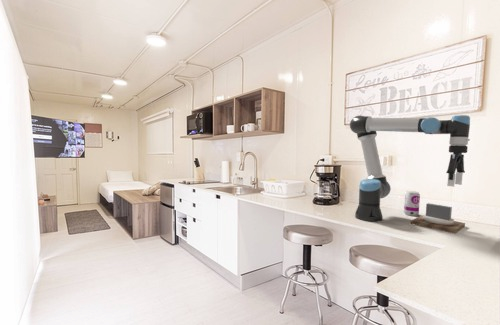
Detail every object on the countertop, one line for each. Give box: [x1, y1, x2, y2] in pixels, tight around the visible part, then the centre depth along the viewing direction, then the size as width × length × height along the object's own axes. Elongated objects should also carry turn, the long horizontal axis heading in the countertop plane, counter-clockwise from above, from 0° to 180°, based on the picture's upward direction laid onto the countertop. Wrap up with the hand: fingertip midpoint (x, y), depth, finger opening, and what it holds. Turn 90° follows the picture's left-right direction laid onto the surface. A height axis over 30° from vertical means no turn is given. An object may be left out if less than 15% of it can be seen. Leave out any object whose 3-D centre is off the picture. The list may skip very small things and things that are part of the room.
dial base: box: [410, 215, 466, 234], centre depth 141 cm, size 20×20×2 cm
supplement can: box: [403, 190, 421, 217], centre depth 164 cm, size 8×8×15 cm
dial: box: [422, 202, 455, 225], centre depth 141 cm, size 14×14×9 cm
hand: (454, 185), depth 133 cm, fingers open, 13 cm apart
